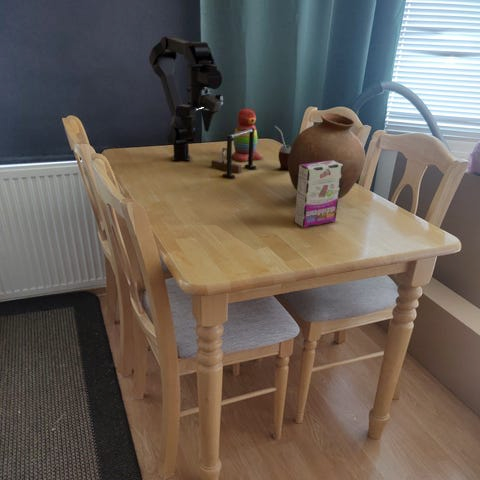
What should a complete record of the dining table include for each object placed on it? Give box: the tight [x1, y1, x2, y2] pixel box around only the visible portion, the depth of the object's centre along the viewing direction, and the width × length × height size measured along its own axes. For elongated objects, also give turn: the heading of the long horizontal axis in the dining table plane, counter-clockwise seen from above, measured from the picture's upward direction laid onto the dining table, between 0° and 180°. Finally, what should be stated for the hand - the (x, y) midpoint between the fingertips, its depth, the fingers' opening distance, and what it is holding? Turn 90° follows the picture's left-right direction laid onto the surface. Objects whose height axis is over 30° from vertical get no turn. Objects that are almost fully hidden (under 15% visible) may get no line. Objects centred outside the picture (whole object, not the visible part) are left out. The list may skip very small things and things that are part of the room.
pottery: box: [287, 112, 366, 200], centre depth 146 cm, size 23×23×25 cm
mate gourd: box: [274, 125, 292, 171], centre depth 174 cm, size 8×8×15 cm
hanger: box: [210, 147, 242, 174], centre depth 173 cm, size 12×2×8 cm, turn 57°
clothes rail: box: [222, 128, 257, 180], centre depth 169 cm, size 4×16×14 cm, turn 146°
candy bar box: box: [294, 160, 343, 229], centre depth 132 cm, size 11×5×16 cm, turn 117°
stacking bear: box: [232, 108, 263, 162], centre depth 185 cm, size 11×10×18 cm
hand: (199, 133), depth 169 cm, fingers open, 9 cm apart
